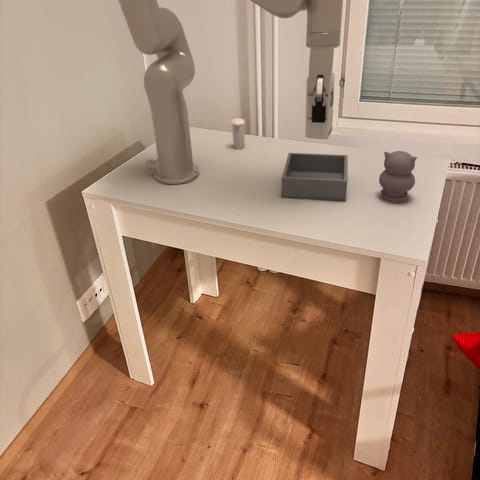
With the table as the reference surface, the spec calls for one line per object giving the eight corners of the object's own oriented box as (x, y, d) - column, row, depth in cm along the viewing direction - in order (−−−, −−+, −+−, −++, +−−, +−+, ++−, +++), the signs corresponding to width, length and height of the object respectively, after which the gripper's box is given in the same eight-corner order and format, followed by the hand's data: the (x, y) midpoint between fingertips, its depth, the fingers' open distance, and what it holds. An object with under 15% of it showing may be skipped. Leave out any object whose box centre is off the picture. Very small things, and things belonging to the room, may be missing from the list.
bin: (281, 197, 120) (281, 177, 117) (288, 171, 133) (288, 152, 130) (345, 201, 117) (347, 181, 114) (345, 173, 130) (347, 155, 127)
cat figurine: (414, 193, 119) (422, 148, 113) (409, 207, 113) (417, 161, 107) (380, 187, 123) (386, 143, 116) (373, 200, 117) (379, 155, 110)
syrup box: (328, 139, 114) (332, 78, 106) (304, 137, 116) (306, 77, 108) (332, 131, 118) (336, 72, 111) (309, 129, 120) (311, 71, 112)
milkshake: (243, 151, 146) (242, 120, 141) (229, 148, 149) (227, 117, 143) (251, 146, 149) (250, 115, 144) (237, 143, 152) (235, 113, 146)
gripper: (309, 32, 113) (306, 106, 122) (303, 46, 99) (300, 129, 108) (340, 31, 111) (335, 106, 121) (339, 46, 97) (333, 130, 107)
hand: (319, 116), depth 115 cm, fingers closed on syrup box, 6 cm apart
